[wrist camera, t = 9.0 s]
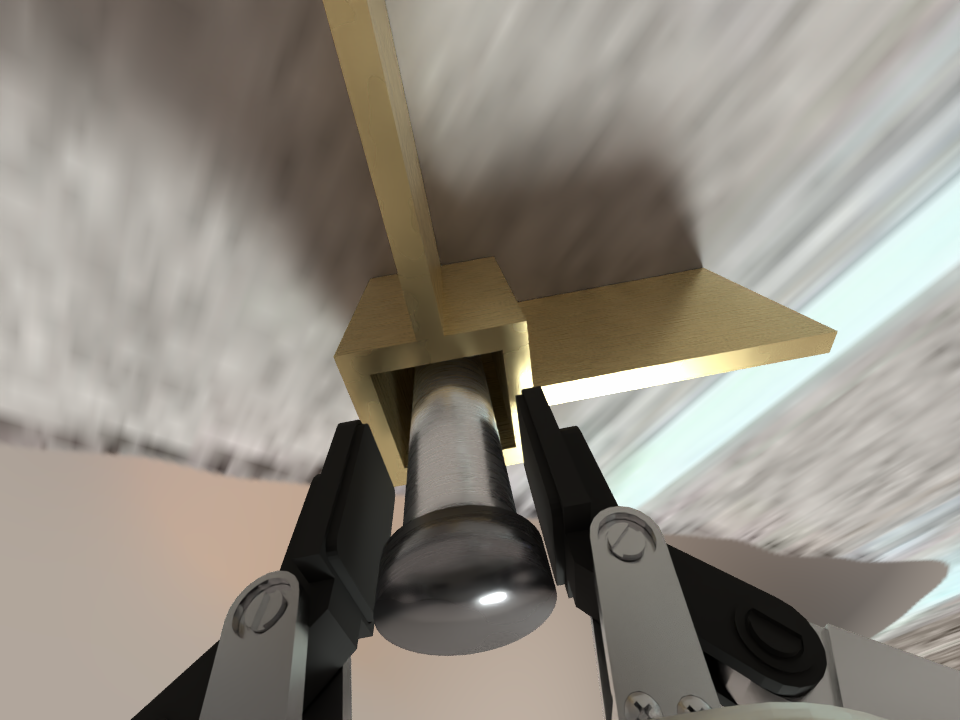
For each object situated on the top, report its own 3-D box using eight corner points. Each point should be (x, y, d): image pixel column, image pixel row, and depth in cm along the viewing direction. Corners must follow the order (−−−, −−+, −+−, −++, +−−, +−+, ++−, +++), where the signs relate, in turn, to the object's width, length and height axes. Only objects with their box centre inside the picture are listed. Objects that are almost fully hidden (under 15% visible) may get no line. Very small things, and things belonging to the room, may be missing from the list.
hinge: (271, -33, 11) (90, -224, 5) (765, -119, 12) (1119, -396, 6) (402, 381, 19) (388, 487, 13) (694, 326, 20) (807, 408, 14)
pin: (402, 296, 17) (346, 579, 6) (474, 283, 17) (552, 538, 6) (419, 359, 19) (401, 668, 8) (485, 346, 19) (560, 636, 8)
